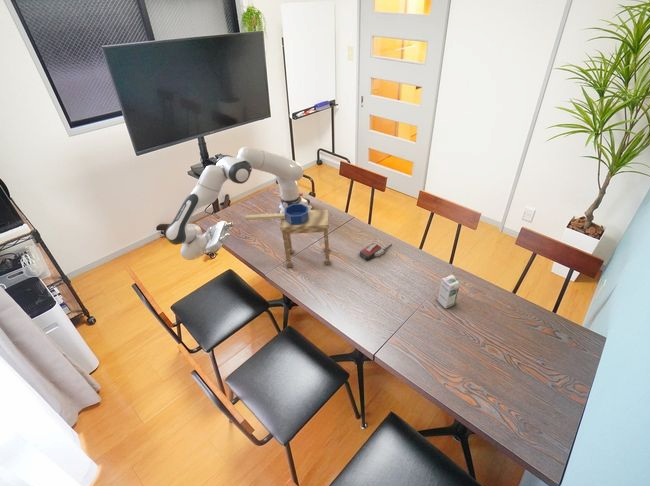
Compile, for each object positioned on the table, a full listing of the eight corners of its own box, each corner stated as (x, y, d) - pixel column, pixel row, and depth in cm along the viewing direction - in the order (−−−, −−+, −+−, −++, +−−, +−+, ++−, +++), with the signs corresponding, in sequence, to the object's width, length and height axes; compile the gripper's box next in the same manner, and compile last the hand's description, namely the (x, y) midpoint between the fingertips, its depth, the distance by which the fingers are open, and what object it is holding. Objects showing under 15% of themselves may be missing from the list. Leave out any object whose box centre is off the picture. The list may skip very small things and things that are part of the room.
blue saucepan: (308, 211, 166) (308, 203, 163) (308, 224, 157) (307, 215, 154) (248, 214, 164) (246, 206, 161) (244, 227, 155) (242, 219, 152)
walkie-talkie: (369, 263, 173) (393, 247, 185) (369, 257, 171) (393, 241, 182) (357, 256, 178) (381, 240, 190) (357, 250, 176) (382, 234, 187)
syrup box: (445, 309, 149) (451, 286, 140) (436, 300, 153) (441, 277, 144) (454, 304, 151) (461, 282, 142) (446, 296, 155) (451, 273, 146)
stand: (286, 268, 171) (279, 227, 155) (288, 251, 182) (282, 211, 166) (330, 265, 172) (328, 224, 157) (329, 248, 184) (327, 209, 168)
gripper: (198, 250, 154) (221, 237, 151) (209, 225, 171) (230, 213, 167) (208, 258, 158) (231, 246, 155) (218, 233, 174) (238, 222, 171)
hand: (230, 229), depth 161 cm, fingers open, 8 cm apart
